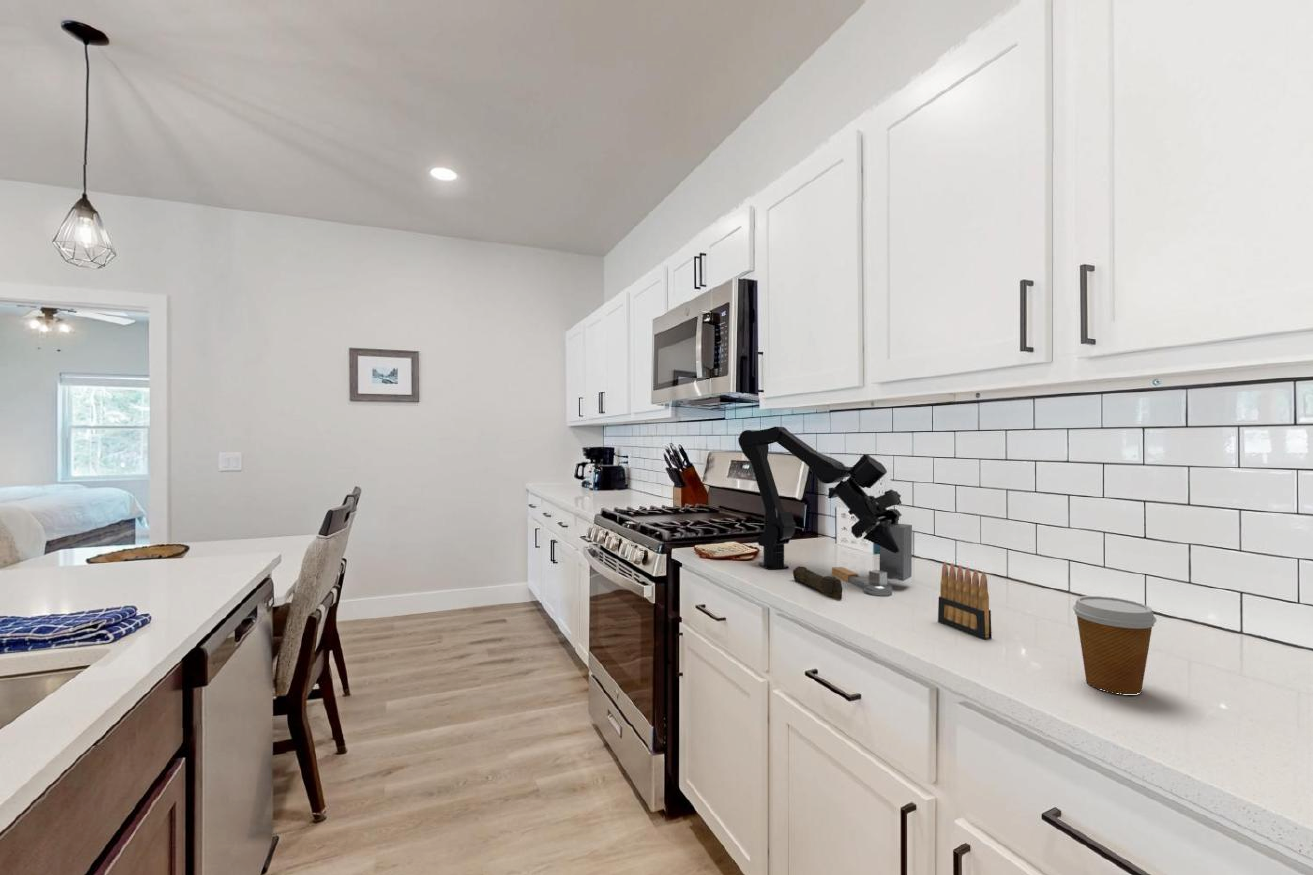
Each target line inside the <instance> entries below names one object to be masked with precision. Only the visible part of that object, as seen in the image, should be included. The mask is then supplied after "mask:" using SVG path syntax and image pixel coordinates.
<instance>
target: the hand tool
mask: <svg viewBox="0 0 1313 875" xmlns="http://www.w3.org/2000/svg"><path fill="white" fill-rule="evenodd" d="M792 574H793V579H794V581H795V582H798V583H800V582H801V583H803V584H806V585H808V586H809V587H812V588H814V589H816V590H819V591H820V592H821V593H822V595H823V594H824V595H823V596H825V595H826V597H827V596H828V598H830V597H831V598H830V599H833V598H834V600H837V601H841V600H843V599H842V598H843V585H842V581H841V579H840V578H837V577H835V576H831V575H825V576H823V575H820V574H818V573H816V572H814V571H812V570H810V569H808V568H807V567H805V566H801V565H798V566H797V567H795V568H794V569H793V571H792Z"/></svg>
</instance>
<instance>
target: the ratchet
mask: <svg viewBox="0 0 1313 875" xmlns="http://www.w3.org/2000/svg"><path fill="white" fill-rule="evenodd" d="M831 575H832V576H833V575H834V576H833V577H835V576H836V577H835V578H837V577H838V578H837V579H839V580H842V581H845V582H846V583H850V584H852V585H853V586H855V587H859V588H861V589H863V592H864V594H866V595H869V596H872V597H877V598H878V597H879V598H880V597H881V598H884V597H885V598H886V597H891V596H892V595H893V585H892V584H891V583H889V582H888V578H887V572H884V571H880V569H879V570H878V569H873V570H870V571H869V570H868V579H867V578H865V577H862V576H859V573H858V572H855V571H852V570H850V569H847V568H845V567H843V566H835V567H831Z"/></svg>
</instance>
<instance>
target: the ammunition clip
mask: <svg viewBox="0 0 1313 875" xmlns="http://www.w3.org/2000/svg"><path fill="white" fill-rule="evenodd" d="M939 591H940V595H939V596H938V603H937V604H938V606H937V612H938V613H937V622H938V623H939V624H941V625H944V626H947V627H950V628H952V629H955V630H958V631H959V632H963V633H965V634H967V635H970V636H973V637H975V638H978V639H981V640H983V641H985V640H990V639H992V636H993V635H992V633H993V632H992V611H991V609H990V595H989V588H988V578H987V575H986V571H982V572H981V575H980V577H979V572H978V570H977V569H976V568H975V569H974V570H973V573H972V574H971V571H970V568H969V566H968V567H966V568H965V570H964V571H963V568H962V565H959V566H958V568H957V571H956V568H955V565H954V563H951V564H950V567H949V566H948V564H947V562H946V561H944V562H943V564H942V568H941V580H940V590H939Z"/></svg>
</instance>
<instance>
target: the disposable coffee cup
mask: <svg viewBox="0 0 1313 875" xmlns="http://www.w3.org/2000/svg"><path fill="white" fill-rule="evenodd" d="M1072 609H1073V611H1074V613H1075V615H1076V619H1077V627H1078V634H1079V642H1080V648H1081V654H1082V660H1083V666H1084V675H1085V681H1087V682H1088V683H1089V684H1090V685H1092V686H1094V687H1096V688H1098V689H1097V690H1099V689H1102V690H1105V691H1108V692H1113V693H1119V694H1120V693H1121V694H1137V693H1140V692H1141V691H1143V690H1142V689H1143V685H1144V684H1143V683H1144V678H1145V672H1146V668H1147V661H1148V660H1147V659H1148V655H1149V648H1150V641H1151V637H1152V636H1151V635H1152V630H1153V627H1154V626H1155V623H1156V622H1157V621H1158V620H1157V617H1156V616H1155V615H1154V612H1153V609H1152V607H1150V606H1148V605H1146V604H1143V603H1140V602H1136V601H1133V600H1128V599H1124V598H1117V597H1111V596H1110V597H1109V596H1103V595H1102V596H1101V595H1100V596H1099V595H1082V596H1079V597H1077V598H1076V600H1075V604H1074V605H1073V606H1072ZM1087 682H1086V683H1087ZM1088 683H1087V684H1088ZM1089 684H1088V685H1089ZM1090 685H1089V686H1090ZM1092 686H1091V687H1092ZM1094 687H1093V688H1094ZM1096 688H1095V689H1096ZM1108 692H1107V693H1108ZM1141 693H1142V692H1141Z"/></svg>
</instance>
